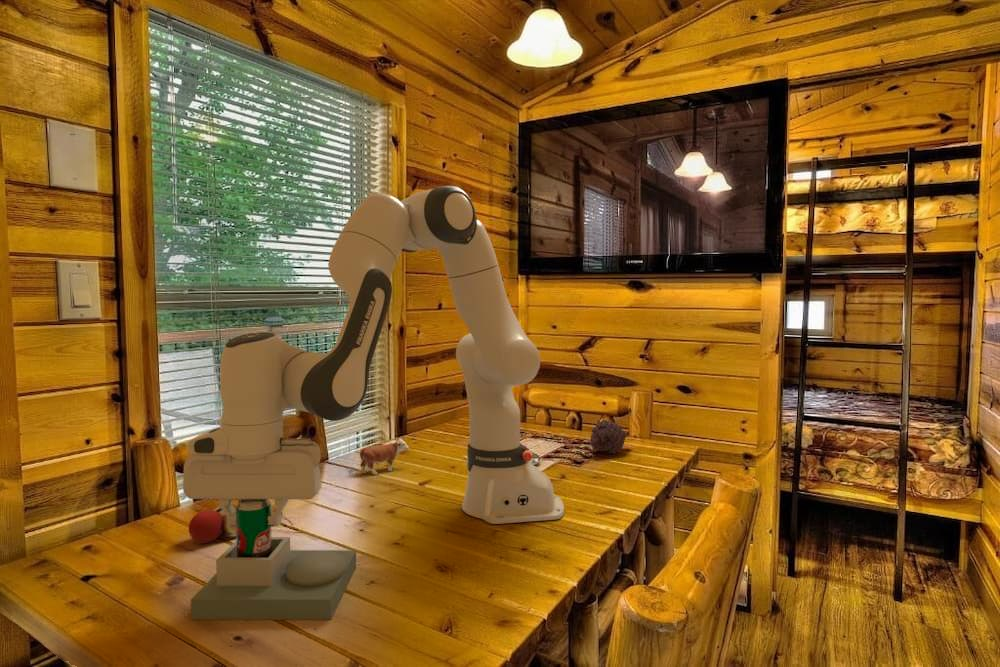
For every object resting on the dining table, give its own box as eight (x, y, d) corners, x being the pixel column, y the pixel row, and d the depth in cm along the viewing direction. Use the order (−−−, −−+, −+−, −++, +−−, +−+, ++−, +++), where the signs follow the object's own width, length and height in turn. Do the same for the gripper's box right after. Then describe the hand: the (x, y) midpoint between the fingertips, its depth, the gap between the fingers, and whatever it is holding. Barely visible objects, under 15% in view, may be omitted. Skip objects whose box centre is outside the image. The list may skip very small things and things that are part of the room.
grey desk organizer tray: (356, 567, 100) (356, 527, 99) (331, 619, 84) (330, 572, 83) (239, 567, 99) (238, 527, 99) (191, 619, 83) (190, 572, 83)
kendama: (264, 519, 124) (177, 534, 110) (271, 491, 124) (184, 503, 109) (284, 534, 119) (196, 553, 105) (291, 505, 119) (203, 520, 105)
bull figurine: (410, 469, 155) (410, 439, 155) (362, 477, 148) (362, 446, 147) (403, 465, 159) (403, 435, 158) (356, 473, 151) (356, 442, 151)
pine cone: (605, 463, 163) (606, 428, 162) (576, 456, 169) (576, 422, 169) (636, 451, 176) (636, 418, 175) (607, 445, 183) (608, 413, 182)
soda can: (259, 582, 88) (257, 505, 87) (229, 579, 89) (228, 502, 88) (278, 567, 93) (277, 494, 92) (250, 564, 94) (249, 491, 93)
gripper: (326, 433, 93) (326, 517, 94) (197, 432, 93) (199, 516, 94) (314, 443, 87) (315, 533, 88) (176, 442, 86) (178, 533, 87)
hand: (254, 525), depth 91 cm, fingers closed on soda can, 5 cm apart
